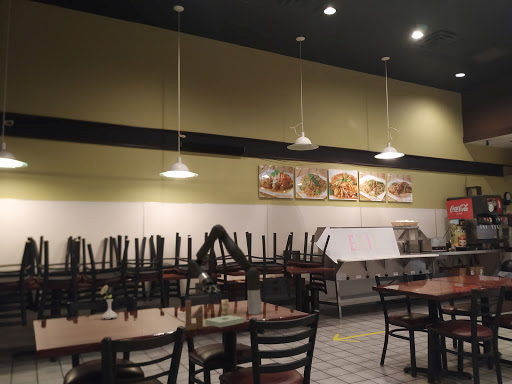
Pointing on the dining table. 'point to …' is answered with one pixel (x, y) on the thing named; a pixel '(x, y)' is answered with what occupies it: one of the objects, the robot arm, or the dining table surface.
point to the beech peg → (225, 307)
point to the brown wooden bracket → (197, 315)
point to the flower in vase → (109, 312)
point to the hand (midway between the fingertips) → (216, 297)
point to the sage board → (224, 321)
